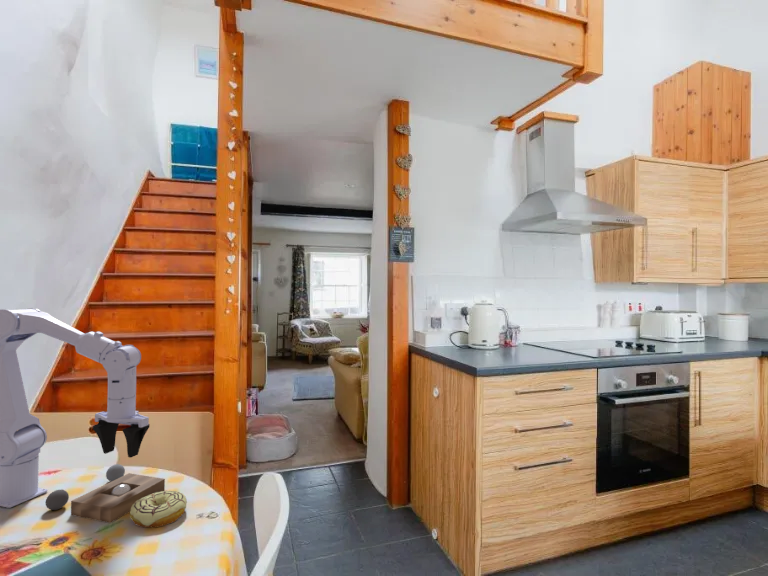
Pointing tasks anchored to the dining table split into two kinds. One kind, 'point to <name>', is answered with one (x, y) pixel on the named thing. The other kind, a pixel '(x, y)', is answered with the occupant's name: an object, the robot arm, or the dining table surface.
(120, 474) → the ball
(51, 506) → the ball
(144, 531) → the dining table surface
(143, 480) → the hole plate
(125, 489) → the steel ball
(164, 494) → the decorated donut
